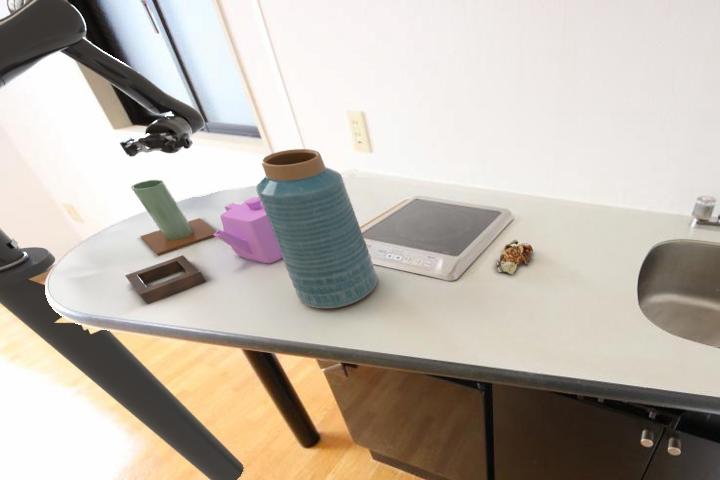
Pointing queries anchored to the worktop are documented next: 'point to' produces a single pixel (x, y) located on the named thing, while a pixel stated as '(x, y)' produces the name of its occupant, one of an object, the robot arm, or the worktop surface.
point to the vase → (316, 229)
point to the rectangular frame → (168, 286)
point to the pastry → (513, 256)
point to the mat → (165, 245)
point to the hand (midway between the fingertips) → (148, 150)
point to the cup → (163, 209)
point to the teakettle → (249, 232)
